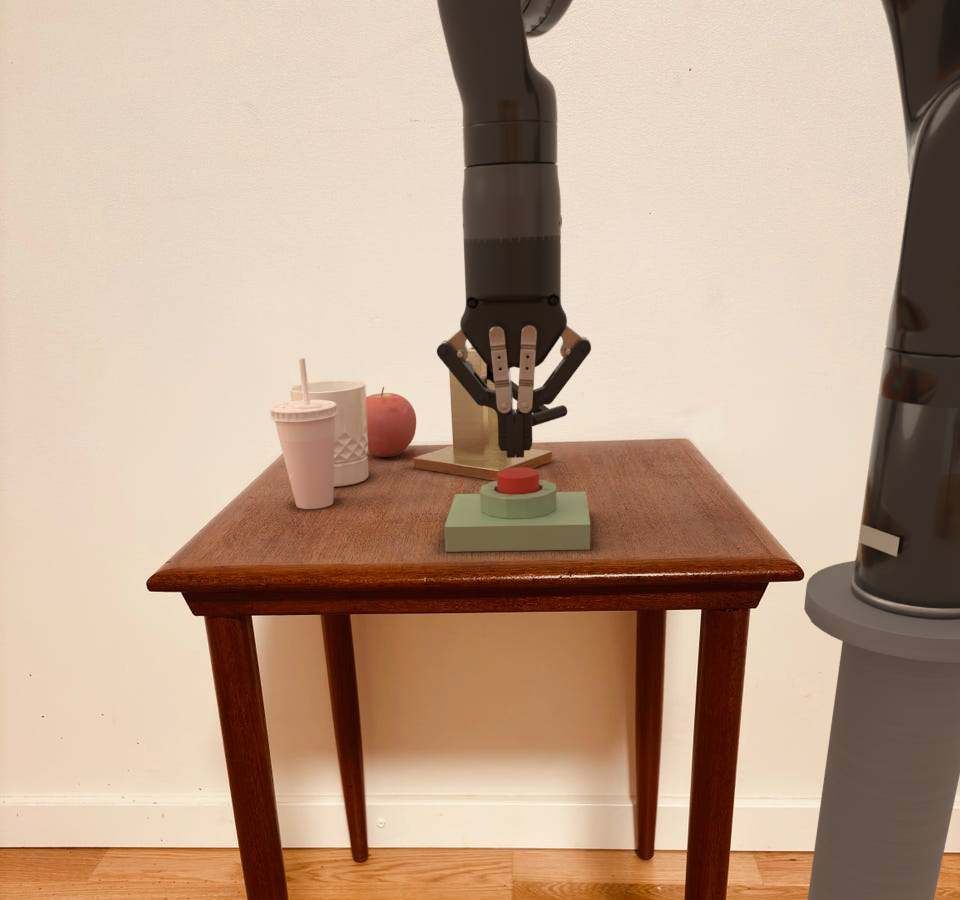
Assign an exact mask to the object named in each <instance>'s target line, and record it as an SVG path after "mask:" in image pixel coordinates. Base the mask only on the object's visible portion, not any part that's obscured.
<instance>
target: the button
mask: <svg viewBox="0 0 960 900" xmlns="http://www.w3.org/2000/svg"><path fill="white" fill-rule="evenodd" d="M539 480H540V471H539V470H537V469H536V468H533V469H531V468H509V469H504V470H501V471H499V472H498V473H497V491H498V493H502V494H509V495H518V494H529V493H535V492H538V491H539Z"/></svg>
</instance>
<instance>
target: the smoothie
mask: <svg viewBox="0 0 960 900" xmlns="http://www.w3.org/2000/svg"><path fill="white" fill-rule="evenodd" d="M298 364H299V373H300V381H301V383H300V384H302V391H303V400H300V401H292V400H291V401H286V402H281V403H277V404H275V405H271V407H270V408H269V412H270V419H271V420H272V421H274V424H275V428H276V432H277V436H278V440H279V444H280V447H281V451H282V457H283V460H284V463H285V467H286V471H287V475H288V478H289V483H290V487H291V491H292V495H293V499H294V503H295V506H296V508H299V509H301V510H316V509H318V510H319V509H323V508H327V507H329V506H332V505H333V504H334V495H335V494H334V493H335V492H334V491H335V490H334V489H335V487H334V434H335V416H336V415H337V414H338V412H337V406H336V403H335V402H333V401H328V400H309V392H308V375H307V366H306V365H307V364H306V358H302V357H301V358H298Z"/></svg>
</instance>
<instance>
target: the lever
mask: <svg viewBox="0 0 960 900" xmlns="http://www.w3.org/2000/svg"><path fill="white" fill-rule="evenodd" d="M469 349H474V348H471V347H470V348H469ZM486 365H487V364H486ZM487 380H490V381H491V382H493V383H494V376H493V368H491V367H489V366H488V365H487ZM511 388H512V398H513V400H515V401H516V402H517V401H518V389H519V384H517V383H515V382H514V381H513V380H511ZM567 414H568V408H567V407H566V406H565V405H564V404H561V405H558V406H557V405H556V406H554V407H550V408H549V407H547V405H545V404H544V405H542V406H539V407H537V408H535V409H534V411H533V413H532V427H535V426H539V425H542V424H545V423H548V422H551V421H554V420H558V419H560V418H561V419H562V418H564V417H566V416H567Z"/></svg>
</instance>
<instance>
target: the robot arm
mask: <svg viewBox="0 0 960 900" xmlns="http://www.w3.org/2000/svg"><path fill="white" fill-rule="evenodd" d="M573 1H574V0H436V4H437V9H438V15H439V20H440V25H441V28H442V32H443V36H444V41H445V46H446V50H447V53H448V59H449V62H450V66H451V70H452V73H453V79H454V82H455V86H456V88H457V92H458V94H459V98H460V102H461V108H462V145H463V146H462V150H463V151H462V152H463V167H464V169H463V185H462V186H463V187H462V199H461V207H462V208H461V211H462V213H461V214H462V232H463V233H462V235H463V236H462V237H463V260H464V262H463V263H464V286H465V287H464V288H465V308H464V311H463V314H462V316H461V317H460V323H459V324H460V325H459V326H460V328H459V329H458V331H456V332H455V333H454V334H453V335H451V336H450V337H449V338H448V339H446V340H443V341H442V342H441V343H440V344H439V346H437V348H436V355H437V357H438V358H439V359H440V361H441V362H442V363H443V364H444V365H445V366H446V368H447V369H448V371H449V370H450V371H451V372H452V374H453V375H454V376H455V377H456V379H457V380H458V381H459V382H460V383H461V385H462V386H463V387H464V388H465V390H466V391H467V392H468V393H469V394H470V396H471V397H472V398H473V399H474V401H475V402H476V403H477V404H478V405H480V406H486V407H489V408H492V409H494V410H495V411H496V413H497V416H498V445H499V448H500V450H501V451H507V458H515V455H516V458H522V457H524V450H530V449H532V446H533V426H532V414H533V411H534V409H535V408H537V407H539V406H542V405H545V406H547V405H550V404H552V403H553V402H554V401H555V400H556V398H557V397H558V395H559V394H560V393H561V392H562V390H563V389H564V387H565V386H566V385H567V383H568V382H569V381H570V380H571V378H572V376H574V374H575V373H576V372H577V371H578V369H579V367H580V366H581V365H582V363H584V361H585V360H586V358H587V357H588V355H590V353H591V351H592V343H591V342H590V339H588V338H587V337H586V336H581V335H580V334H579V333H577V331H575V330H574V329H573V328H571V327H570V326H569V325H568V317H567V314H566V312H565V311H564V309H563V305H562V244H561V243H562V242H561V240H562V226H563V225H562V224H563V217H562V214H561V213H562V197H561V187H560V182H559V180H560V179H559V172H558V171H559V169H558V166H559V165H558V99H557V93H556V89H555V86H554V84H553V82H552V81H551V80H550V79H549V78H548V77H547V76H546V75H544V74H543V73H541V72H540V71H539V70H538V69H537V68H536V66H535V65H534V64H533V61H532V59H531V55H530V50H529V44H528V40H530V39H531V40H532V39H537V38H539V37H542V36H544V35H546V34H547V33H549V32H551V31H552V30H553V29H554V28H555V27H556V26H557V25H559V23H560V21H561V20H562V19H563V17H564V16H565V15H566V14H567V12H568V10H569V9H570V7H571V5H572V3H573ZM880 2H881V5H882V9H883V12H884V14H885V18H886V23H887V27H888V31H889V34H890V40H891V45H892V49H893V50H892V51H893V55H894V62H895V67H896V72H897V73H896V74H897V80H898V87H899V93H900V100H901V108H902V109H901V110H902V115H903V116H902V117H903V124H904V133H905V143H906V153H907V154H906V156H907V157H906V158H907V171H908V179H909V186H908V194H907V201H906V208H905V215H904V222H903V229H902V230H903V231H902V238H901V247H900V253H899V259H898V265H897V272H896V273H897V274H896V277H895V284H894V289H893V294H892V298H891V304H890V306H889V307H890V308H889V312H888V313H889V314H888V320H887V329H886V336H885V337H886V338H885V347H884V351H883V358H882V365H881V372H880V379H879V386H878V387H879V388H878V394H877V402H876V408H875V416H874V424H873V432H872V437H871V438H872V440H871V447H870V453H869V461H868V468H867V474H866V475H867V476H866V482H865V491H864V496H863V504H862V512H861V518H860V519H861V520H860V526H859V534H858V542H857V550H856V557H855V559H854V561H855V566H854V570H855V571H854V574H853V576H852V582H851V591H852V593H853V594H854V596H855V597H857V598H858V599H859V600H861V601H862V602H864V603H866V604H868V605H870V606H872V607H875V608H878V609H880V610H883V611H887V612H891V613H894V614H899V615H904V616H909V617H916V618H925V619H960V0H880ZM559 339H562V343H561V345H560V348H559V353H560V356H561V357H562V359H561V361H559V363H558V364H557V366H555V368H554V369H553V371H552V373H550V375H549V376H548V378H547V379H546V380H545V382H544V383H543V384H542V386H540V387H537V388H534V387H535V372H536V371H535V370H536V368H537V367H538V366H541V364H543V362H544V361H545V360H546V359H547V358H548V355H549V354H550V353H551V351H552V350H553V348H554V347H555V346H556V344H557V342H558V341H559ZM467 341H468V342H469V344H470V346H471V345H472V346H473V348H474V349H475V350H476V352H477V353H478V354H479V356H480V357H481V358H482V360H483V361H484V362H485V363H486V364H487V365H488V366H489V367H491V368H493V376H494V384H495V390H492V389H489V387H488V386H487V385H486V384H485V382H484V381H483V380H482V379H481V378H480V376H479V375H478V374H477V373H476V371H475V370H474V369H473V368H472V366H471V365H470V364H469V363H468V361H467V360H466V359H467V357H468V355H469V350H468V349H469V348H468V346H467ZM512 368H518V369H519V372H518V386H519V389H518V401H516V408H515V409H514V408H513V407H514V405H513V404H514V403H513V400H514V398H512V388H511V381H512V375H511V369H512Z"/></svg>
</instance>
